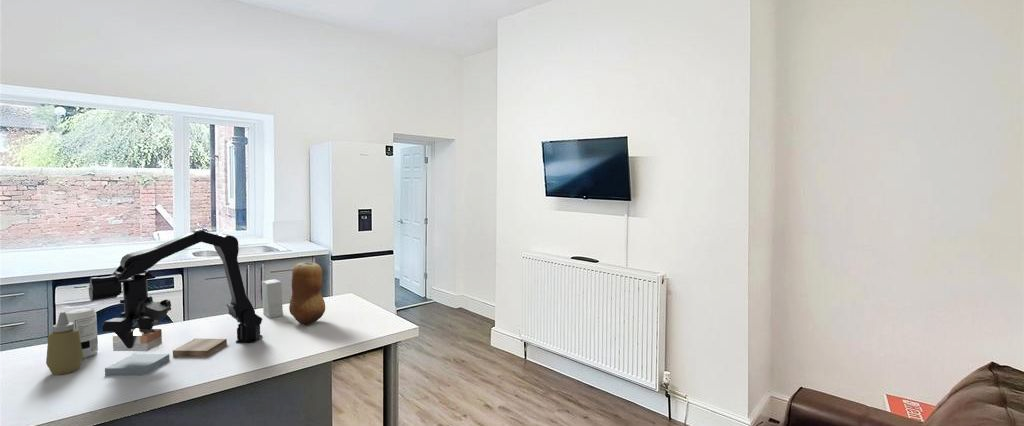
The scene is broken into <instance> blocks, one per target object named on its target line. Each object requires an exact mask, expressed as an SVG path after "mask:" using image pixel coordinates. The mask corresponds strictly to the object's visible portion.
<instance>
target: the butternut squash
mask: <svg viewBox="0 0 1024 426" xmlns="http://www.w3.org/2000/svg"><path fill="white" fill-rule="evenodd" d="M291 275H292V276H291V291H292V292H291V298H290V301H289V305H288V309H289V314H290V315H291V316H292V317H293V318H294V319H295V320H296V322H297V323H299V324H300V325H302V326H309V325H312V324H313V323H315V322H317V321H318V320H319V319H321V318H322V317H323V315H324V314H325V312H326V302H325V299H324V297H323V295H322V286H323V278H324V277H323V269H322V267H321V265H320V264H319V263H316V262H298V263H296V264H295V266H293V268H292V271H291Z"/></svg>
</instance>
